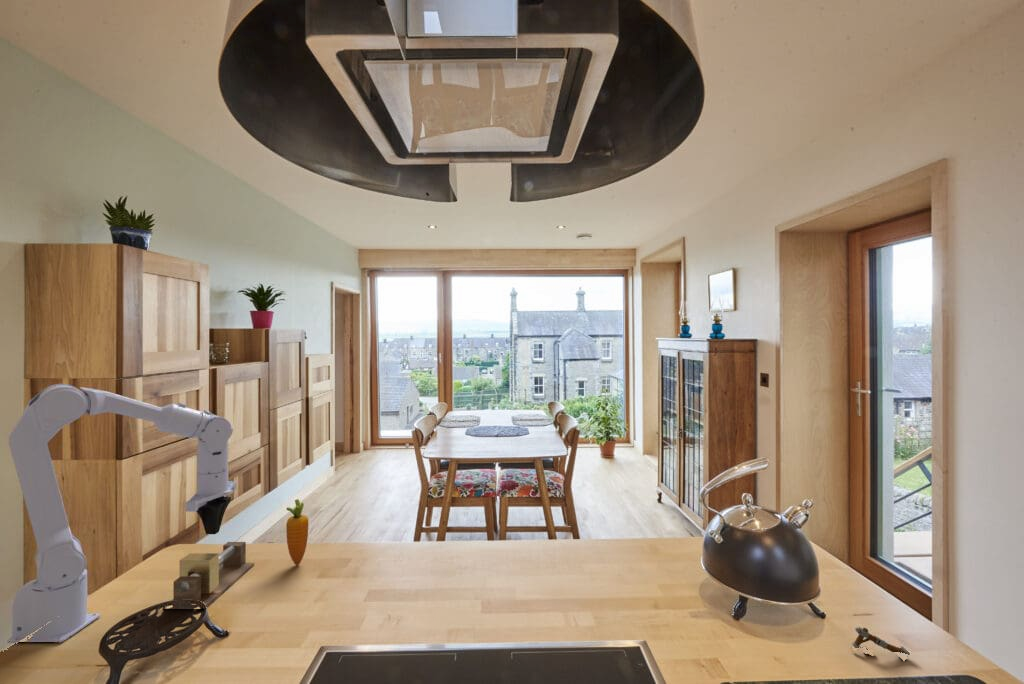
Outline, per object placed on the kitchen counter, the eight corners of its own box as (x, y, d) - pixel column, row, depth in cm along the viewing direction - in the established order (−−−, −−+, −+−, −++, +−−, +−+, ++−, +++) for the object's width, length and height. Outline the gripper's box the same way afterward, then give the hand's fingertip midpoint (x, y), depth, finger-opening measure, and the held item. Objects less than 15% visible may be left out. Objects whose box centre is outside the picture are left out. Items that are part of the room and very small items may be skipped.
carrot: (303, 570, 106) (303, 504, 106) (281, 570, 106) (281, 504, 106) (312, 560, 111) (312, 497, 111) (292, 560, 111) (292, 497, 111)
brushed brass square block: (209, 593, 94) (209, 560, 94) (179, 593, 93) (179, 560, 93) (218, 585, 97) (218, 553, 97) (189, 585, 96) (189, 553, 96)
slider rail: (204, 609, 90) (204, 581, 90) (162, 610, 90) (163, 581, 90) (254, 565, 108) (254, 541, 108) (219, 565, 108) (219, 541, 108)
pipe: (189, 592, 90) (189, 581, 90) (178, 592, 90) (178, 581, 90) (241, 550, 108) (241, 541, 108) (232, 550, 108) (232, 541, 108)
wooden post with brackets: (843, 644, 80) (855, 621, 79) (891, 668, 78) (903, 645, 78) (848, 651, 78) (861, 627, 78) (898, 676, 77) (910, 652, 76)
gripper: (210, 480, 94) (209, 547, 94) (249, 462, 109) (249, 520, 109) (175, 480, 94) (174, 547, 94) (219, 462, 109) (218, 520, 109)
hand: (212, 533), depth 102 cm, fingers closed
